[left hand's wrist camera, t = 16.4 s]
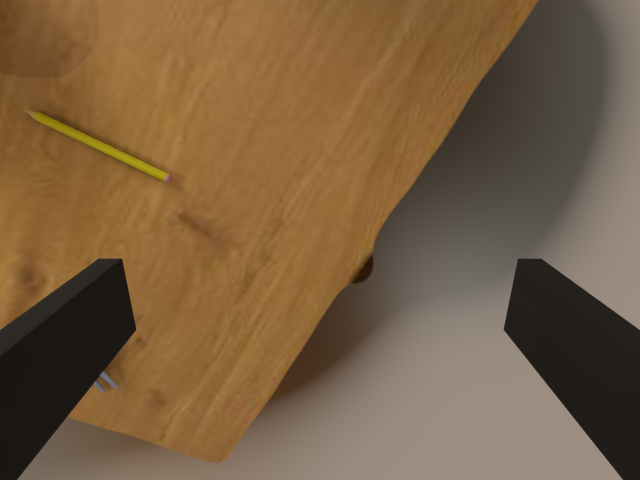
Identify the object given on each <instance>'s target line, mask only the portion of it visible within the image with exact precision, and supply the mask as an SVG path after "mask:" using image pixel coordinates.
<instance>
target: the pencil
mask: <svg viewBox="0 0 640 480" xmlns="http://www.w3.org/2000/svg"><path fill="white" fill-rule="evenodd" d="M25 111H26V112H27V113H28V114H30V115H31V116H32V117H33V118H34V119H35V120H36V121H39V122H41V123H43V124H45V125H47V126H49V127H51V128H53V129H55V130H57V131H60V132H62V133H64V134H66V135H68V136H70V137H72V138H74V139H76V140H78V141H81V142H83V143H85V144H87V145H89V146H91V147H93V148H95V149H97V150H100V151H102V152H104V153H106V154H108V155H110V156H112V157H114V158H116V159H118V160H121V161H123V162H125V163H127V164H129V165H131V166H133V167H135V168H137V169H139V170H142V171H144V172H146V173H148V174H150V175H152V176H154V177H156V178H158V179H161V180H163V181H165V182H167V183H168V182H169V180H170V178H171V175H169V174H168V173H166V172H163V171H161V170H159V169H157V168H155V167H153V166H151V165H149V164H147V163H145V162H143V161H141V160H138V159H136V158H134V157H132V156H130V155H128V154H126V153H124V152H122V151H120V150H118V149H115V148H113V147H111V146H109V145H107V144H105V143H103V142H101V141H99V140H97V139H95V138H93V137H90V136H88V135H86V134H84V133H82V132H80V131H78V130H76V129H74V128H72V127H70V126H67V125H65V124H63V123H61V122H59V121H57V120H55V119H53V118H51V117H49V116H47V115H45V114H42V113H40V112H35V111H29V110H25Z"/></svg>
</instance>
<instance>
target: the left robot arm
mask: <svg viewBox="0 0 640 480" xmlns="http://www.w3.org/2000/svg"><path fill="white" fill-rule="evenodd" d="M504 330H505V332H506V333H507V334H508V336H509V337H510V338H511V339H512V341H513V342H514V343H515V344H516V346H517V347H518V348H519V349H520V351H521V352H522V353H523V354H524V356H525V357H526V358H527V360H528V361H529V362H530V363H531V365H532V366H533V367H534V368H535V370H536V371H537V372H538V373H539V375H540V376H541V377H542V378H543V380H544V381H545V382H546V383H547V385H548V386H549V387H550V388H551V390H552V391H553V392H554V393H555V395H556V396H557V397H558V398H559V400H560V401H561V402H562V403H563V405H564V406H565V407H566V409H567V410H568V411H569V412H570V414H571V415H572V416H573V417H574V419H575V420H576V421H577V422H578V424H579V425H580V426H581V427H582V429H583V430H584V431H585V432H586V434H587V435H588V436H589V437H590V439H591V440H592V441H593V443H594V444H595V445H596V446H597V447H598V449H599V450H600V451H601V453H602V454H603V455H604V456H605V458H606V459H607V460H608V461H609V463H610V464H611V465H612V466H613V468H614V469H615V470H616V471H617V473H618V474H619V475H620V476H621V478H622V479H623V480H640V330H639V329H638V328H636V327H635V326H633V325H632V324H631V323H629V322H628V321H626V320H625V319H624V318H622V317H621V316H620V315H618V314H617V313H615V312H614V311H613V310H611V309H610V308H609V307H607V306H606V305H604V304H603V303H602V302H600V301H599V300H597V299H596V298H595V297H593V296H592V295H590V294H589V293H588V292H586V291H585V290H584V289H582V288H581V287H579V286H578V285H577V284H575V283H574V282H573V281H571V280H570V279H568V278H567V277H566V276H564V275H563V274H562V273H560V272H559V271H557V270H556V269H555V268H553V267H552V266H550V265H549V264H548V263H546V262H545V261H544V260H542V259H518V262H517V267H516V271H515V277H514V281H513V286H512V292H511V296H510V301H509V306H508V311H507V316H506V321H505V326H504ZM135 331H136V326H135V321H134V316H133V311H132V306H131V301H130V296H129V291H128V286H127V281H126V276H125V271H124V267H123V262H122V259H98V260H96V261H95V262H94V263H92V264H91V265H90V266H88V267H87V268H85V269H84V270H83V271H81V272H80V273H78V274H77V275H76V276H74V277H73V278H72V279H70V280H69V281H67V282H66V283H65V284H63V285H62V286H61V287H59V288H58V289H56V290H55V291H54V292H52V293H51V294H49V295H48V296H47V297H45V298H44V299H43V300H41V301H40V302H38V303H37V304H36V305H34V306H33V307H31V308H30V309H29V310H27V311H26V312H25V313H23V314H22V315H20V316H19V317H18V318H16V319H15V320H14V321H12V322H11V323H9V324H8V325H7V326H5V327H4V328H2V329H1V330H0V480H17V479H18V478H19V476H20V475H21V474H22V473H23V471H24V470H25V469H26V468H27V466H28V465H29V464H30V463H31V461H32V460H33V459H34V458H35V456H36V455H37V454H38V453H39V451H40V450H41V449H42V448H43V446H44V445H45V444H46V442H47V441H48V440H49V439H50V437H51V436H52V435H53V434H54V432H55V431H56V430H57V429H58V427H59V426H60V425H61V424H62V422H63V421H64V420H65V419H66V417H67V416H68V415H69V414H70V412H71V411H72V410H73V409H74V407H75V406H76V405H77V404H78V402H79V401H80V400H81V399H82V397H83V396H84V395H85V393H86V392H87V391H88V390H89V388H90V387H91V386H92V385H93V383H94V382H95V381H96V380H97V378H98V377H99V376H100V375H101V373H102V372H103V371H104V370H105V368H106V367H107V366H108V365H109V363H110V362H111V361H112V360H113V358H114V357H115V356H116V355H117V353H118V352H119V351H120V349H121V348H122V347H123V346H124V344H125V343H126V342H127V341H128V339H129V338H130V337H131V336H132V334H133V333H134V332H135Z"/></svg>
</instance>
